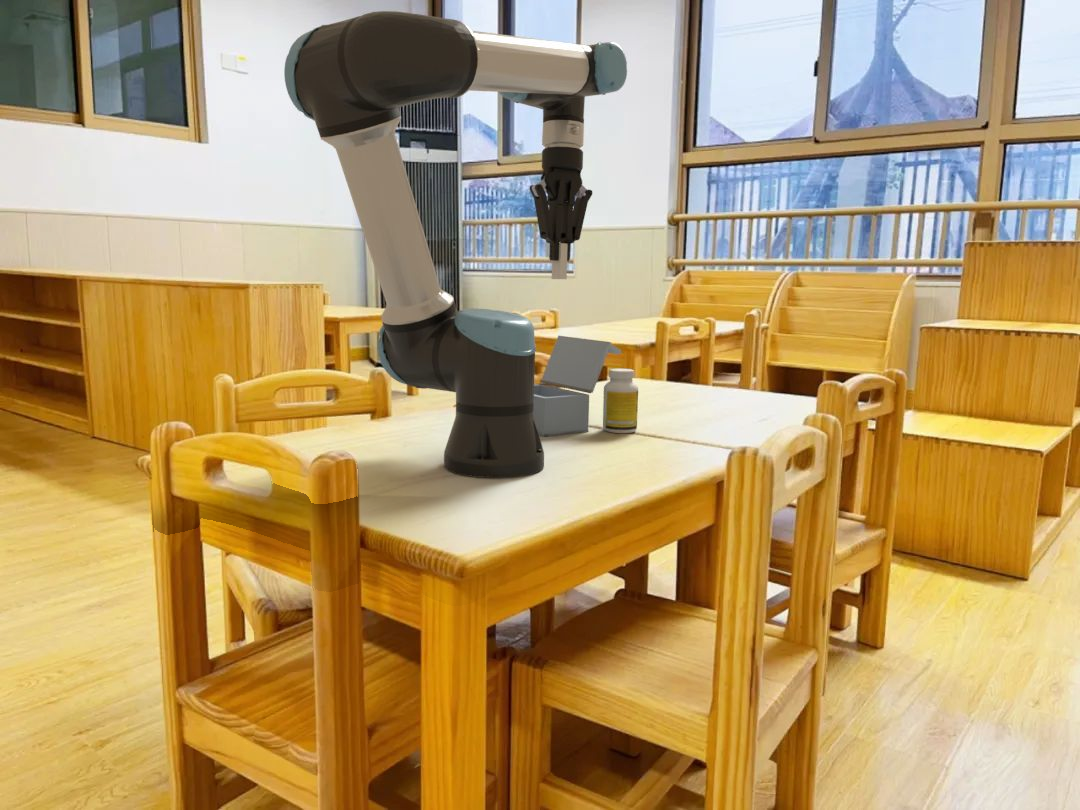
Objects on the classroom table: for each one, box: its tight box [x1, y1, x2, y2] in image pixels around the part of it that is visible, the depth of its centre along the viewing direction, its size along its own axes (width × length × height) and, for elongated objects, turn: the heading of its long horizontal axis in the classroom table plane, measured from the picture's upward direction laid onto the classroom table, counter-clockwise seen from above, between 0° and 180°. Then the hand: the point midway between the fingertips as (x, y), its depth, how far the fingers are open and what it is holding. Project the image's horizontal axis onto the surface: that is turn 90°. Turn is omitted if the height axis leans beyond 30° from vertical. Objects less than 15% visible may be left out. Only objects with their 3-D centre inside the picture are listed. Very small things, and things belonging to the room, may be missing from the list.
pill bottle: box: [602, 368, 639, 434], centre depth 152 cm, size 6×6×12 cm
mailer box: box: [533, 383, 590, 438], centre depth 155 cm, size 10×16×7 cm, turn 34°
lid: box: [539, 335, 623, 394], centre depth 159 cm, size 10×17×5 cm
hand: (559, 278), depth 151 cm, fingers closed
